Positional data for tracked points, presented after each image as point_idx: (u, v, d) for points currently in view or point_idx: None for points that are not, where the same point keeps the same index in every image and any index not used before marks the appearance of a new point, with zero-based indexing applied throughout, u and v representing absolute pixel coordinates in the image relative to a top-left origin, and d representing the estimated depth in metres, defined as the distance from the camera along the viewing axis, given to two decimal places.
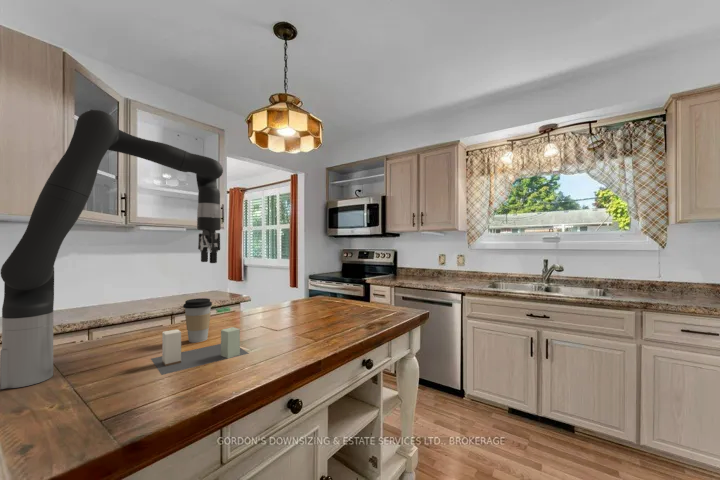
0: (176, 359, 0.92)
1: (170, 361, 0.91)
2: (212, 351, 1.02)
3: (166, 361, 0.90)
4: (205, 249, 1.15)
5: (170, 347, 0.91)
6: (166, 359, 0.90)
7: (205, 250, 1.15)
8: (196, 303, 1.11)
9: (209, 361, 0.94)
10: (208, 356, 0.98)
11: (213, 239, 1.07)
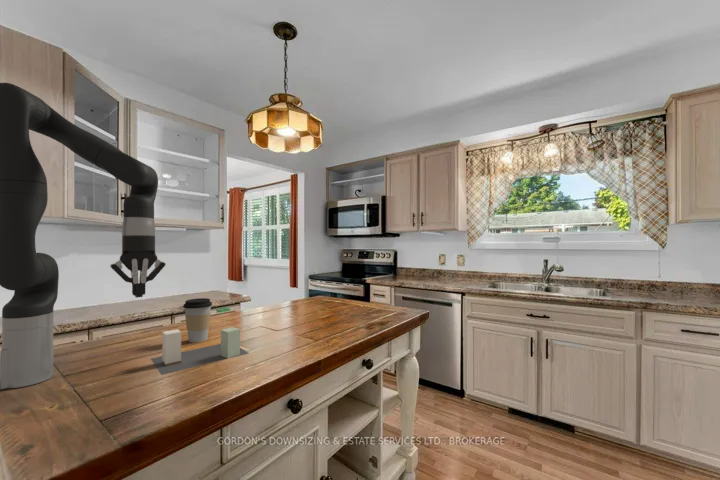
0: (176, 359, 0.92)
1: (170, 361, 0.91)
2: (212, 351, 1.02)
3: (166, 361, 0.90)
4: None
5: (170, 347, 0.91)
6: (166, 359, 0.90)
7: None
8: (196, 303, 1.11)
9: (209, 361, 0.94)
10: (208, 356, 0.98)
11: (160, 270, 0.90)
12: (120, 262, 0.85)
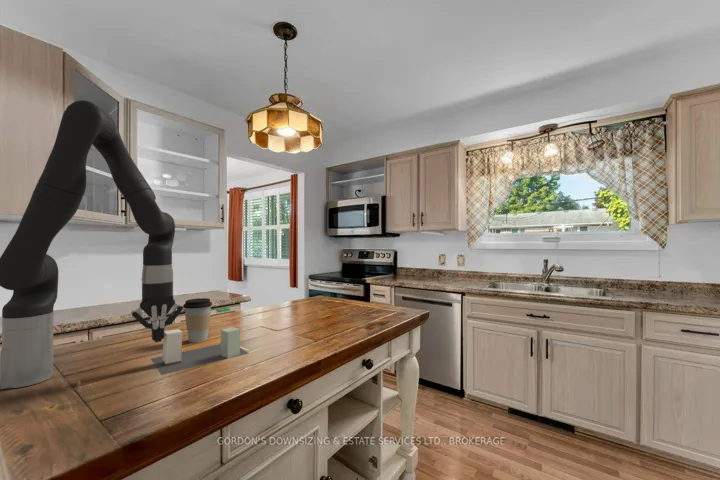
0: (176, 359, 0.92)
1: (170, 361, 0.91)
2: (212, 351, 1.02)
3: (166, 361, 0.90)
4: None
5: (171, 346, 0.91)
6: (166, 359, 0.90)
7: None
8: (196, 303, 1.11)
9: (209, 361, 0.94)
10: (208, 356, 0.98)
11: None
12: (140, 309, 0.87)
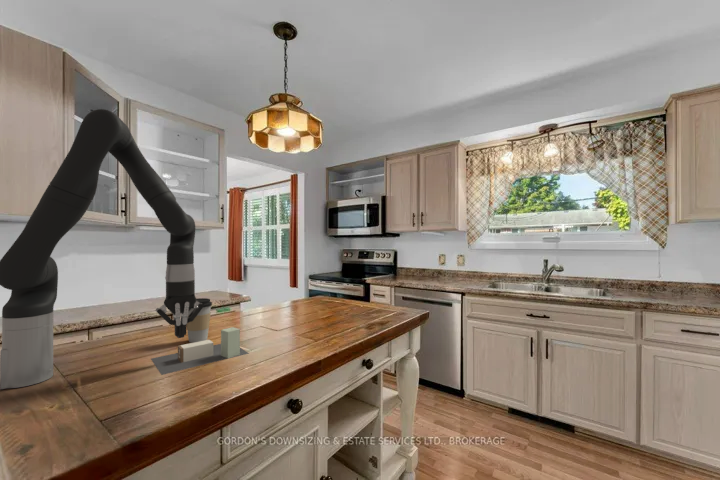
0: (185, 357, 0.94)
1: (185, 352, 0.94)
2: None
3: (186, 349, 0.94)
4: None
5: (200, 349, 0.96)
6: (188, 348, 0.94)
7: None
8: None
9: (209, 361, 0.94)
10: (208, 356, 0.98)
11: (199, 311, 0.97)
12: (164, 306, 0.91)
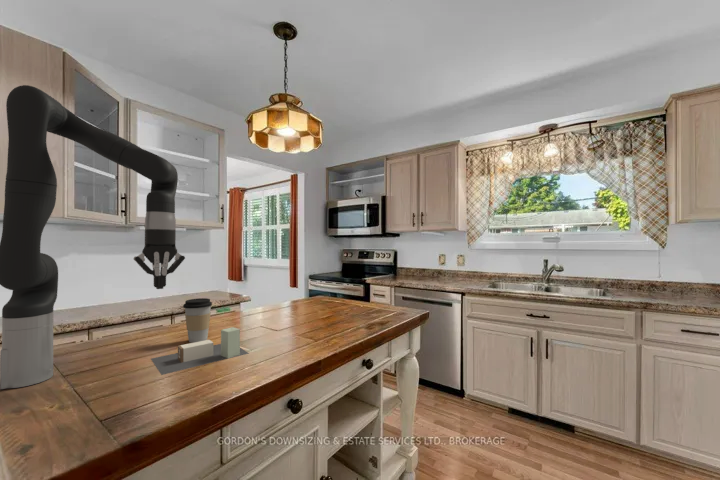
0: (185, 357, 0.94)
1: (185, 352, 0.94)
2: None
3: (186, 349, 0.94)
4: None
5: (200, 349, 0.96)
6: (188, 348, 0.94)
7: None
8: (196, 303, 1.11)
9: (209, 361, 0.94)
10: (208, 356, 0.98)
11: None
12: (143, 255, 0.88)
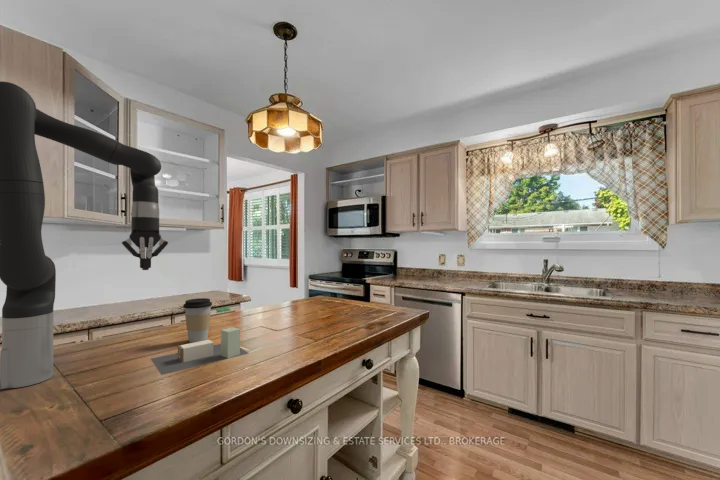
0: (185, 357, 0.94)
1: (185, 352, 0.94)
2: None
3: (186, 349, 0.94)
4: None
5: (200, 349, 0.96)
6: (188, 348, 0.94)
7: None
8: (196, 303, 1.11)
9: (209, 361, 0.94)
10: (208, 356, 0.98)
11: (163, 247, 1.06)
12: (130, 239, 1.00)
